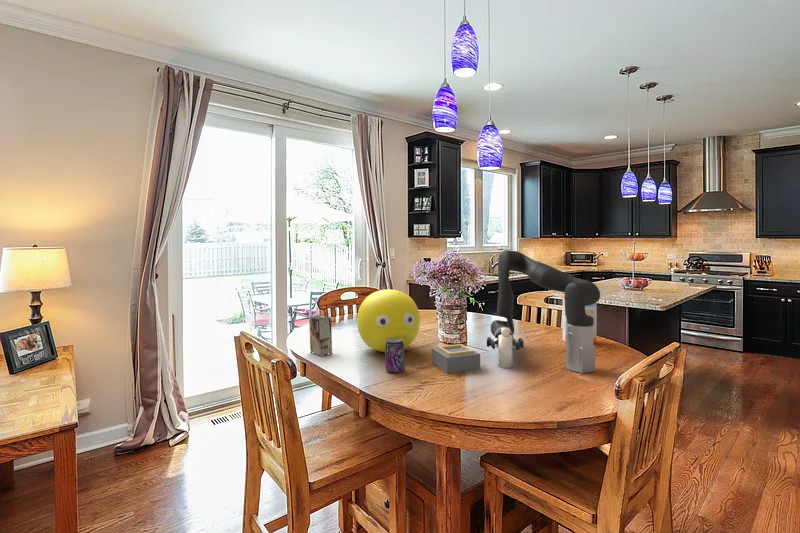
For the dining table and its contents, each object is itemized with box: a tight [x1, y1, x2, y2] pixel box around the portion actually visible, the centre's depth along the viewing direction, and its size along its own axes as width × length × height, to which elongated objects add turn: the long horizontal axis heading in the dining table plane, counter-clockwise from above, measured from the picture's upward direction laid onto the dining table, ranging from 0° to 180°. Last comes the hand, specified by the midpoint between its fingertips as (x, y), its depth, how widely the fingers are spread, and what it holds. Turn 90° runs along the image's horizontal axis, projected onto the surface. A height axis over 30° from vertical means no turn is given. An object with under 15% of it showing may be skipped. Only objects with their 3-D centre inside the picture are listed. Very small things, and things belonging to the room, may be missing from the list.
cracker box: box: [562, 297, 598, 344], centre depth 198 cm, size 14×6×21 cm, turn 84°
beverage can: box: [384, 338, 405, 373], centre depth 160 cm, size 7×7×12 cm
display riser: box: [431, 343, 481, 374], centre depth 165 cm, size 14×14×7 cm
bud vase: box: [498, 327, 513, 369], centre depth 164 cm, size 5×5×15 cm
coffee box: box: [308, 314, 333, 356], centre depth 186 cm, size 9×6×16 cm
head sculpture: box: [356, 288, 421, 353], centre depth 187 cm, size 28×28×28 cm
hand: (505, 347), depth 162 cm, fingers open, 8 cm apart
